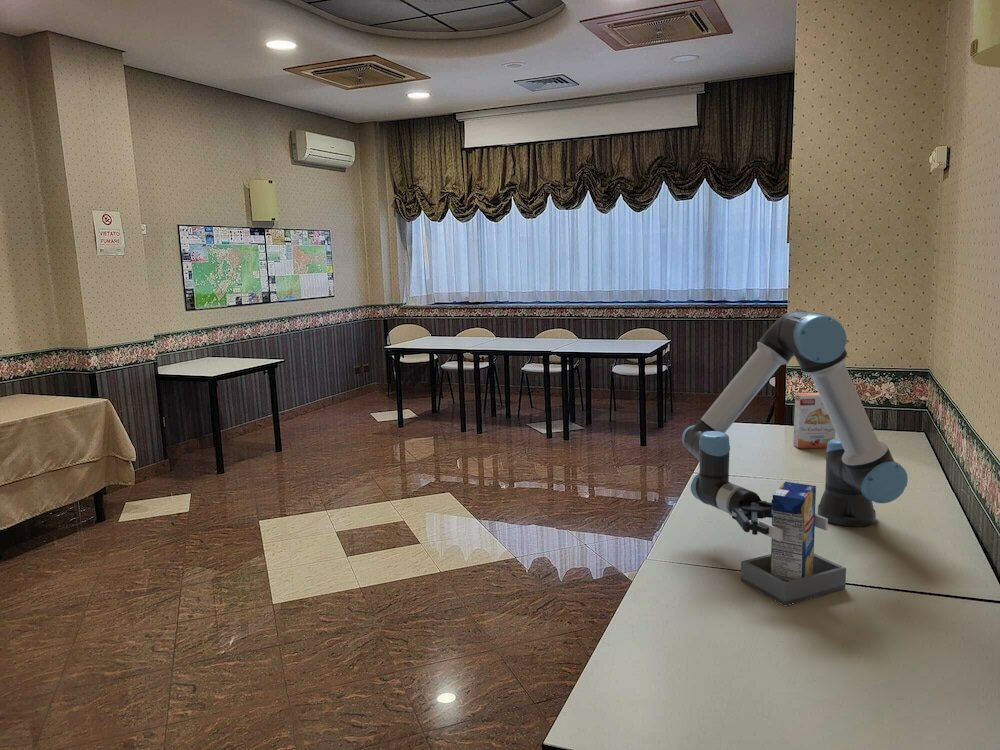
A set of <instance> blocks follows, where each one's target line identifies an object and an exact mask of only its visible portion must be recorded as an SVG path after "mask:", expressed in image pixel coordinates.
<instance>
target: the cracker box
mask: <svg viewBox="0 0 1000 750" xmlns="http://www.w3.org/2000/svg"><path fill="white" fill-rule="evenodd" d="M794 395H795V396H794V400H795V401H794V414H793V415H794V417H793V437H792V438H793V440H792V443H793V446H794V447H796V448H797V449H827V444H828V442H829V441H830V440H833V439H836V431H835V429H834V426H833V424H832V422H831V420H830V417H829V415H828V413H827V411H826V409H825V406H824V404H823V402H822V400H821V397H820V395H819V393H818V392H796V393H795V394H794Z"/></svg>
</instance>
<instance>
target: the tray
mask: <svg viewBox="0 0 1000 750" xmlns="http://www.w3.org/2000/svg"><path fill="white" fill-rule="evenodd" d="M740 563H741V564H740V565H741V566H740V582H741V583H744V584H745V585H747V586H748V587H750V588H752V589H754V590H756V591H757V592H759V593H761V594H763V595H764V594H765V596H766V597H768V598H769V599H771V598H772V599H771V600H773V601H775V600H776V601H775V602H777V603H778V602H779V603H778V604H780V603H781V605H782V604H783V605H782V606H784V605H787V606H790V605H789V604H791V605H793V604H792V603H794V604H797V602H798V603H801V602H804V600H805V601H808V600H812V599H815V598H818V596H819V597H822V596H826V595H828V594H832V593H836V592H839V591H843V590H845V589H846V581H847V580H846V578H847V577H846V576H847V567H844V566H842V565H840V564H837V563H835V562H833V561H832V560H829V559H827V558H824V557H822V556H820V555H817V553H816V554H815V553H814V558H813V575H810V576H807V577H803V578H799V579H796V580H792V581H788V582H785V581H783V580H781V579H779V578H777V577H775V576H773V575H771V553H769V554H765V555H761V556H757V557H753V558H748V559H746V560H741V561H740ZM825 594H826V595H825ZM814 597H815V598H814ZM811 598H812V599H811ZM807 599H808V600H807ZM800 601H801V602H800Z"/></svg>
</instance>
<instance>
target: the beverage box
mask: <svg viewBox="0 0 1000 750" xmlns="http://www.w3.org/2000/svg"><path fill="white" fill-rule="evenodd" d="M816 496H817V486H816V485H811V484H805V483H804V484H803V483H799V482H790V481H784V482H783V484H781V485H780V486H779V487H778V488H777V489H776V490H775V492H774V493H773V494H772V499H773V504H772V518H771V525H773V526H776V527H778V528H780V529H783V536H782V541H780V542H779V541H777V540H775V539H773V538H771V547H770V548H771V550H770V554H771V575H773V576H775V577H777V578H779V579H781V580H783V581H785V582H788V581H792V580H796V579H799V578H803V577H807V576H810V575H813V558H814V554H815V552H814V551H815V514H816V500H817V499H816Z"/></svg>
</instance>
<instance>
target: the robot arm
mask: <svg viewBox="0 0 1000 750" xmlns="http://www.w3.org/2000/svg"><path fill="white" fill-rule="evenodd" d="M847 341H848V339H847V333H846V330H845V328H844V326H843V325H842V324H841V323H840V322H839V321H838V320H837V319H835V318H834V317H831V316H830V315H827V314H824V313H820V312H817V313H816V312H815V313H814V312H810V311H806V310H799V309H798V310H793V311H790V312H787V313H784V314H782V316H780V317H779V318H778V319H776V320H775V321H774V323H772V324H771V326H770V327H769V328H768V329H767V330H766V332H765V333H763V335H762V336H761V338H759V339H758V341H757V343H756V345H757V348H756V349H755V351H754V352H753V353H752V355H751V356H750V357H749V359H748V360H747V361H746V362H745V364H743V366H742V367H741V368H740V369H739V371H738V372H737V373H736V374H735V375H734V377H733V378H732V379H731V381H730V382H729V383H728V385H727V386H726V387H725V388H724V389H723V391H722V392H721V393H720V395H719V396H718V397H717V398H716V399H715V401H714V402H713V403H712V404H711V406H710V407H709V408H708V410H706V412H705V413H704V415H703V416H702V417H701V418H700V420H698V421H697V423H696V424H693V425H690V426H688V427H686V428H685V429H684V431H683V432H682V436H681V442H682V444H683V446H684V447H685V449H686V450H687V452H689V453H690V454H692V456H694V458H696V459H697V460H698V461H699V462H698V463H699V466H698V467H699V472H698V473H697V474H696V475H694V477H693V478H692V482H691V483H690V493H691V495H693V497H694V498H695V499H696V500H699V501H700V502H702V503H703V504H705V505H708V506H709V505H710V506H711V507H714V508H715V509H718V510H721V511H722V512H725V513H727V514H728V515H730V516H731V519H733V520H735V521H736V522H737V523H738V524H739V526H740V528H741V529H742V530H743V532H744V533H750V531H751V535H754V536H757V535H758V533H760V534H763V535H764V536H767V537H769V538H771V539H772V538H773V539H775V540H777V541H779V542H780V541H782V536H783V529H780V528H778V527H776V526H773V525H772V523H769V522H766V521H764V520H762V519H766V518H770V519H772V504H773V498H772V499H771V502H768V501H765V500H762V499H761V497H760V495H759V494H758V493H756V492H755V491H752V490H749V489H747V488H745V487H742V486H740V485H737V484H734V483H732V482H730V479H729V478H730V475H729V474H730V451H731V445H730V437H729V435H728V434H727V433H726V432H727V431H728V430H729V428H731V426H732V425H733V424H734V422H735V421H736V420H737V419H738V417H739V416H741V414H742V413H743V411H744V410H745V409H746V408H747V406H749V404H750V403H751V402H752V400H754V398H755V397H756V396H757V395H758V393H759V392H760V391H761V390H762V388H763V387H764V386H765V385H766V384H767V383H768V381H769V380H770V379H771V377H773V375H774V374H775V372H777V370H778V369H779V368H780V367H781V366H783V365H787V364H788V363H789V362H790V361H791V359H792V358H793V357H795V359H796V361H797V363H798V366H799V369H800V370H801V372H802V373H804V374H807V375H810V377H811V379H812V382H813V384H814V386H815V388H816V391H817V393H819V395H820V397H821V400H822V402H823V404H824V406H825V409H826V411H827V413H828V415H829V417H830V420H831V422H832V424H833V426H834V429H835V434H836V436H837V437H838V438H835V439H833V440H830V441H829V442H828V444H827V448H826V450H825V453H826V454H825V455H826V457H825V459H826V460H825V482H824V483H825V485H824V486H825V487H824V488H825V489H824V492H823V494H822V496H821V499H820V502H819V503H818V506H817V513H815V527H816V528H818V529H821V530H823V531H828V527H829V523H830V524H833V525H837V526H843V527H852V526H853V527H858V528H859V527H867V526H871V525H873V524H875V522H876V521H877V518H876V517H877V512H876V510H875V508H874V505H873V503H876V504H888V503H891V502H893V501H895V500H897V499H898V498H900V496H901V495H903V493H904V492H905V489H906V488H907V485H908V479H909V477H908V473H907V470H906V469H905V467H903V466H902V464H901V463H899V462H896V461H895V460H894V458H893V455H892V453H891V450H890V449H889V446H888V444H887V443H886V442H884V441H881V440H879V439H878V437H877V435H876V432H875V430H874V428H873V426H872V423H871V421H870V419H869V416H868V414H867V412H866V409H865V407H864V405H863V402H862V401H861V397H860V396H859V393H858V391H857V390H856V386H855V385H854V381H853V379H852V378H851V376H850V373H849V371H848V368H847V366H846V364H845V362H846V359H847V358H848V352H847V350H846V348H845V347H846V344H847ZM759 519H760V520H759Z"/></svg>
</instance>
